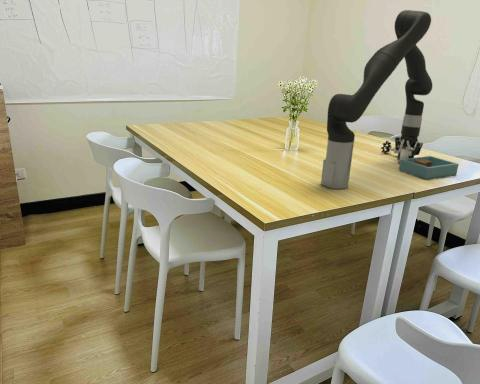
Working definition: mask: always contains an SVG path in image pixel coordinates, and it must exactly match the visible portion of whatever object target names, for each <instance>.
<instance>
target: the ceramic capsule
mask: <svg viewBox="0 0 480 384" xmlns="http://www.w3.org/2000/svg"><path fill="white" fill-rule="evenodd" d="M409 156H410V155H409V151H408V148H401V153H400V159H399V160H398V164H399V165H400V161H401V159H408V157H409Z"/></svg>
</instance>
